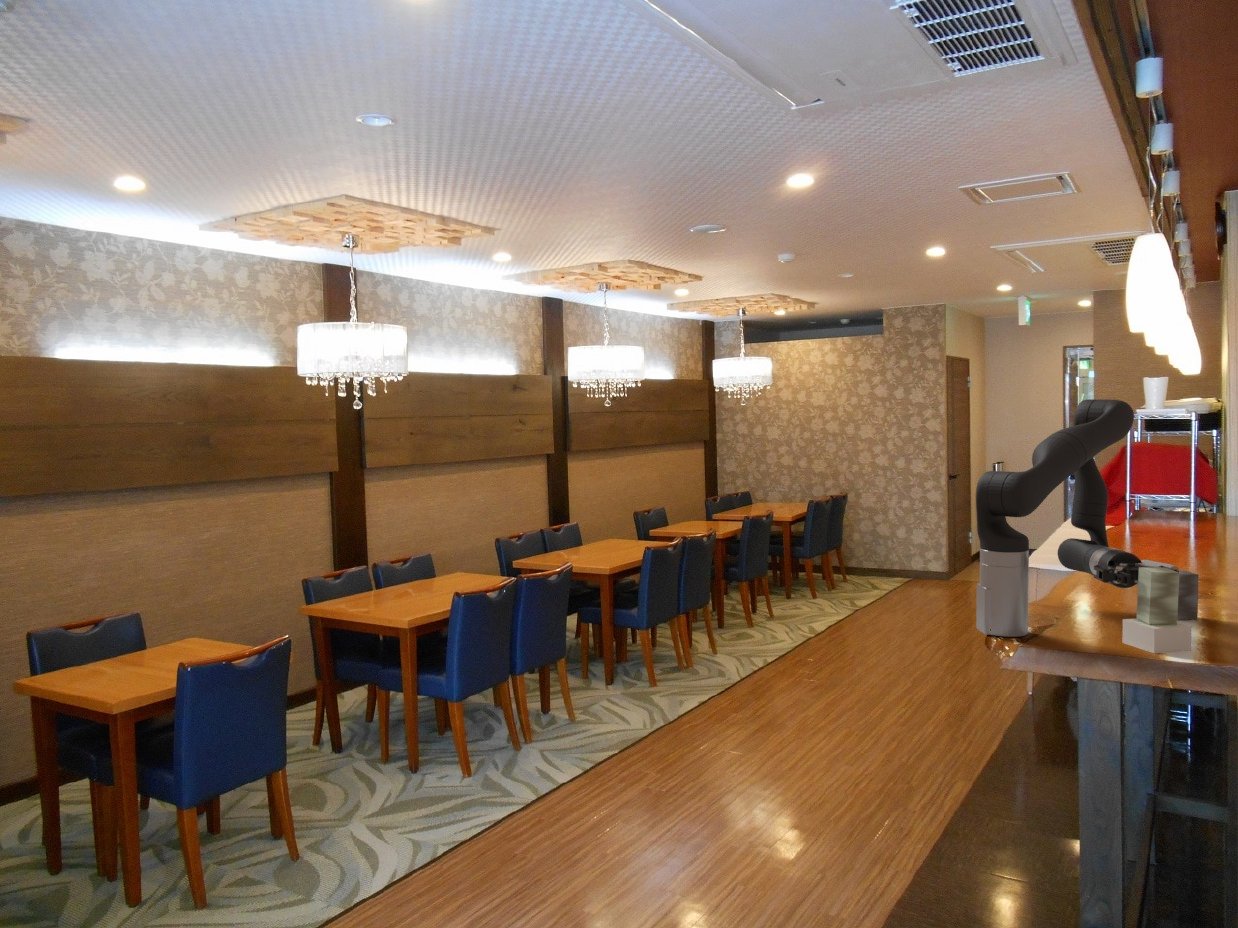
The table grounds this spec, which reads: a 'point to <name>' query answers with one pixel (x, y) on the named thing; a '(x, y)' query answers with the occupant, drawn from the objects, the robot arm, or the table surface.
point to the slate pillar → (1188, 596)
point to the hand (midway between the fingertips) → (1152, 580)
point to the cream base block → (1157, 636)
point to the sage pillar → (1158, 596)
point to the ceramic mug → (1152, 563)
